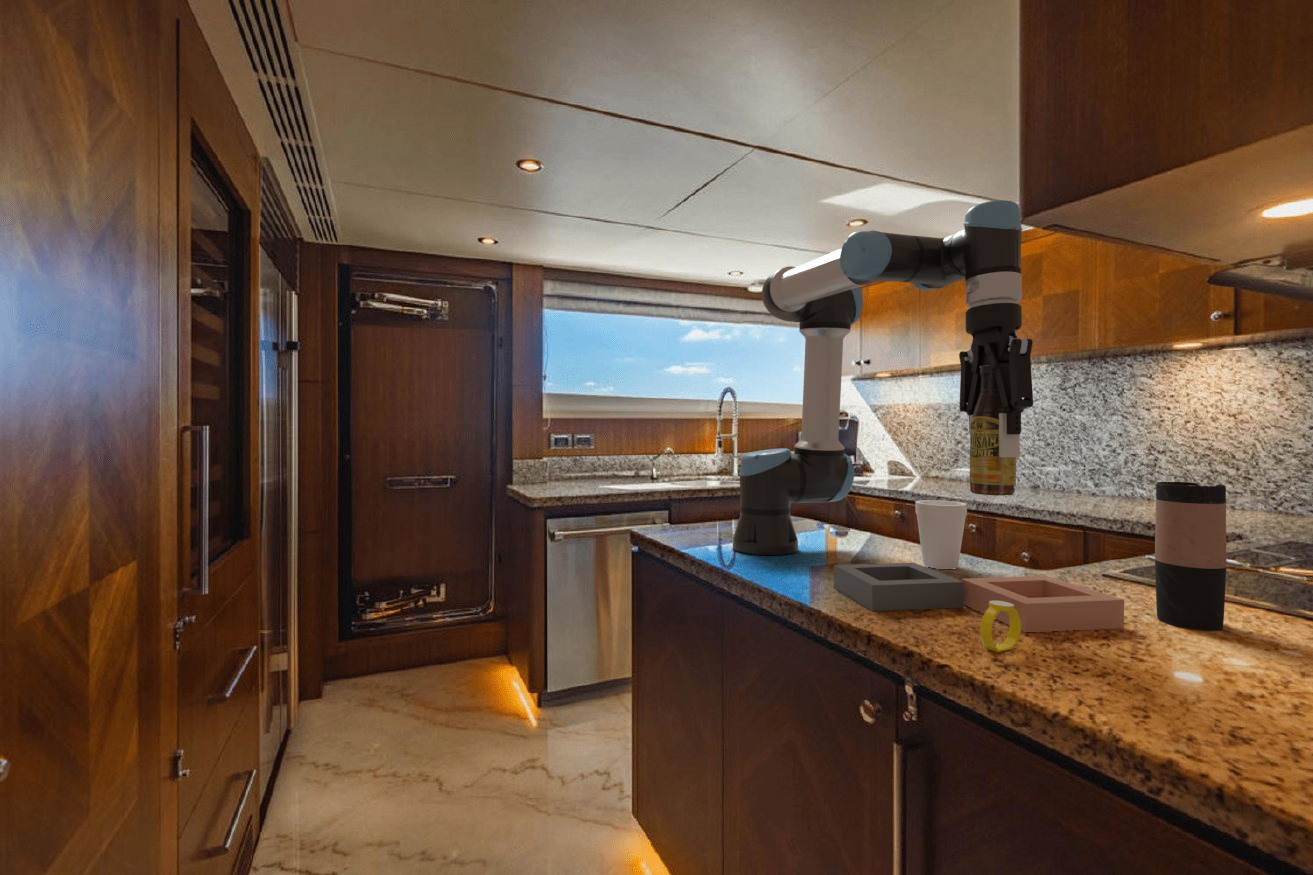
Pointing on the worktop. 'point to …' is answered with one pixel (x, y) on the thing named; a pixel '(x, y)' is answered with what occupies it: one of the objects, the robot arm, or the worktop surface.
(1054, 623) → the holder
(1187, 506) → the travel mug
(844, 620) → the worktop surface
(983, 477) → the sauce bottle
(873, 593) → the holder
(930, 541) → the foam cup
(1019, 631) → the watch
